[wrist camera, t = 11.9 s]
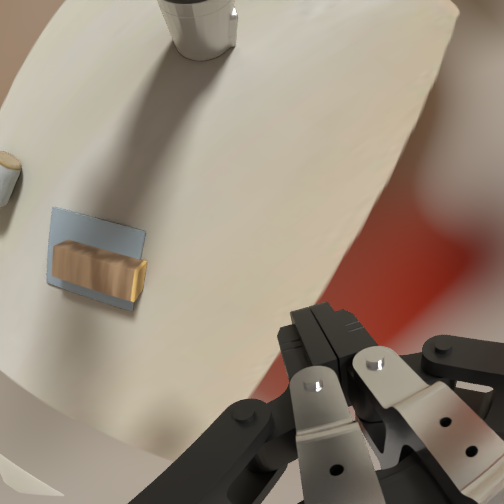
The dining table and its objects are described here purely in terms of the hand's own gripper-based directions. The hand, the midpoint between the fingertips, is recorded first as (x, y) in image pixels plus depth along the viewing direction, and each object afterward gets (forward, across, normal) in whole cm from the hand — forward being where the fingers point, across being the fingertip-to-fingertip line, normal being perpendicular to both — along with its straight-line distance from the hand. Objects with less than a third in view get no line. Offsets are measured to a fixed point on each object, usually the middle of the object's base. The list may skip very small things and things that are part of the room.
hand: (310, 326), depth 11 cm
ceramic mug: (+34, +42, -20) cm, 58 cm away
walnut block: (+31, +19, +5) cm, 37 cm away
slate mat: (+34, +28, 0) cm, 44 cm away
